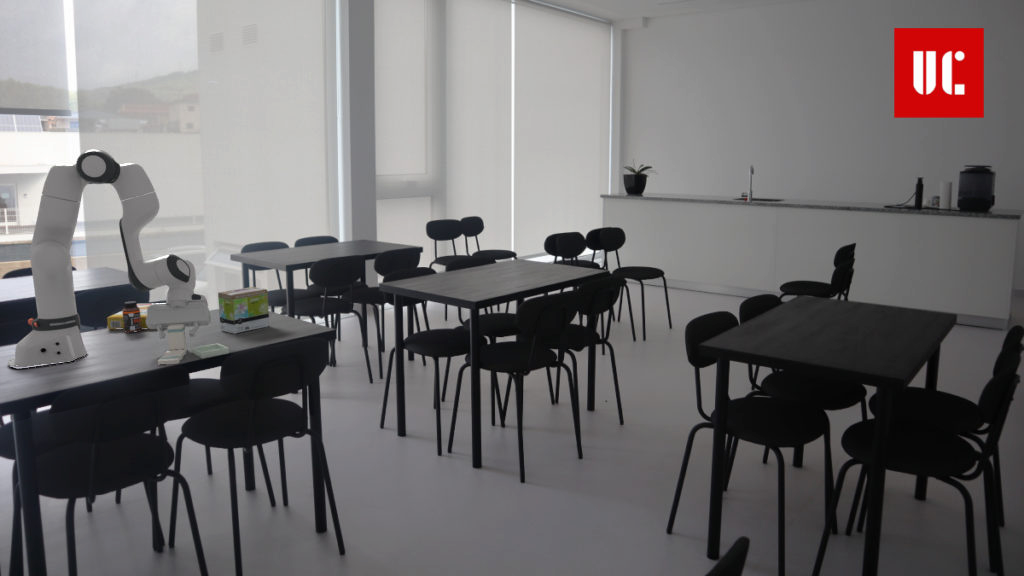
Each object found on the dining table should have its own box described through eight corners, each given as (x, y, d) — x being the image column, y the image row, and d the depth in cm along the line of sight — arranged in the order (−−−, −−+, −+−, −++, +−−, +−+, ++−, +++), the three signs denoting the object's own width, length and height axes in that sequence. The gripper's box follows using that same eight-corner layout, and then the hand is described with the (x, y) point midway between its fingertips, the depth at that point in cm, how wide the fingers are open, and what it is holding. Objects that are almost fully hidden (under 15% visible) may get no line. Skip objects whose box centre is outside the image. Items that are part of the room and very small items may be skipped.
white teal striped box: (169, 353, 257) (167, 327, 256) (172, 350, 261) (169, 324, 260) (184, 352, 258) (181, 326, 257) (187, 349, 262) (184, 323, 261)
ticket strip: (157, 365, 244) (157, 360, 244) (167, 354, 257) (167, 350, 257) (178, 363, 245) (177, 359, 245) (186, 352, 258) (186, 348, 258)
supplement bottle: (137, 333, 287) (133, 303, 285) (121, 333, 287) (118, 303, 285) (145, 329, 293) (141, 300, 291) (129, 329, 293) (126, 300, 291)
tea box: (235, 334, 282) (232, 294, 280) (220, 331, 288) (216, 292, 286) (270, 326, 294) (267, 288, 291) (254, 323, 300) (251, 285, 297)
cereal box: (105, 317, 292) (136, 302, 319) (107, 331, 293) (137, 315, 320) (161, 316, 293) (186, 301, 321) (162, 330, 294) (187, 314, 322)
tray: (201, 358, 251) (201, 353, 250) (191, 353, 257) (191, 348, 257) (229, 353, 257) (228, 347, 256) (218, 348, 263) (218, 343, 263)
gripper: (145, 299, 262) (141, 334, 254) (209, 295, 266) (207, 329, 258) (150, 309, 267) (146, 343, 259) (212, 305, 271) (210, 339, 263)
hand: (177, 336), depth 259 cm, fingers open, 8 cm apart
